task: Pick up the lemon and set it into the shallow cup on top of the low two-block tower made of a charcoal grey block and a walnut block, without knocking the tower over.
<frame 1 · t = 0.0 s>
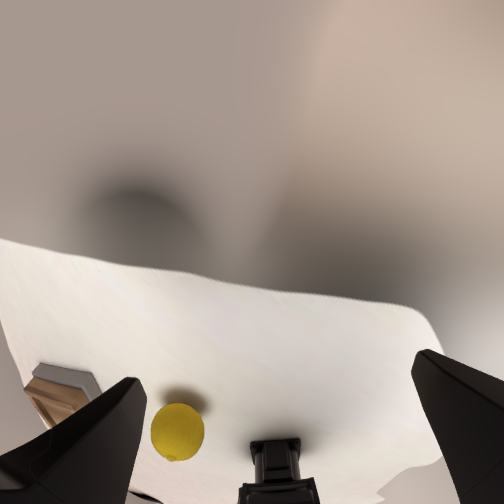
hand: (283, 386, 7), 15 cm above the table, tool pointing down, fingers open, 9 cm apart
lemon: (184, 403, 27), on the table
top block: (71, 407, 25), point 2 cm above the table, touching bottom block
bottom block: (80, 393, 28), on the table, touching top block
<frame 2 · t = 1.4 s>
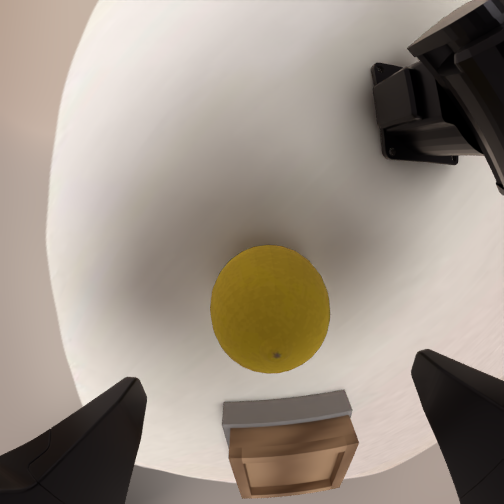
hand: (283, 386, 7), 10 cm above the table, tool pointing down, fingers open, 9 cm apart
lemon: (264, 274, 17), on the table
top block: (289, 452, 19), point 2 cm above the table, touching bottom block
bottom block: (284, 427, 21), on the table, touching top block
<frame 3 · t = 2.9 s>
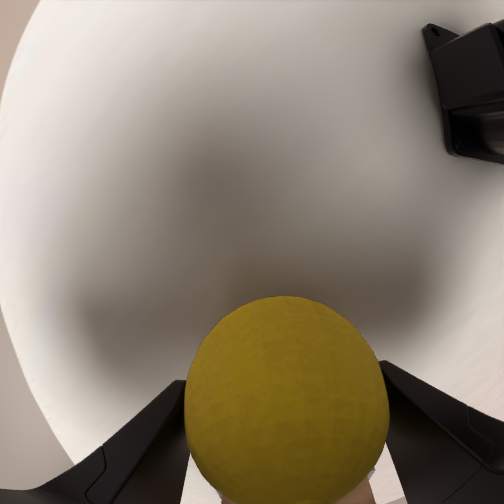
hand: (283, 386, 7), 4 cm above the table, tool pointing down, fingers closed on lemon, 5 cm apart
lemon: (273, 323, 11), on the table, touching gripper
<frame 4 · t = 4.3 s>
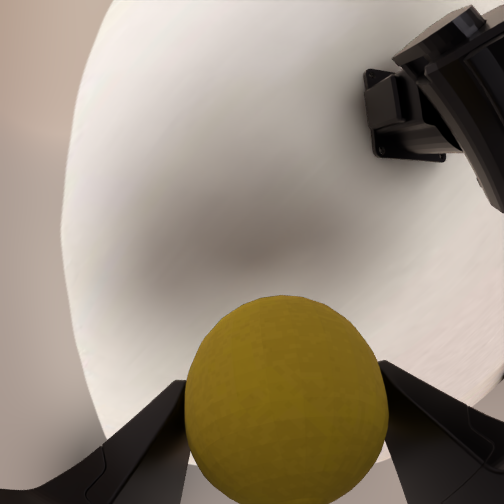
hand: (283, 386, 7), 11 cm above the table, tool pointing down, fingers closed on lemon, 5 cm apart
lemon: (273, 323, 11), point 8 cm above the table, touching gripper
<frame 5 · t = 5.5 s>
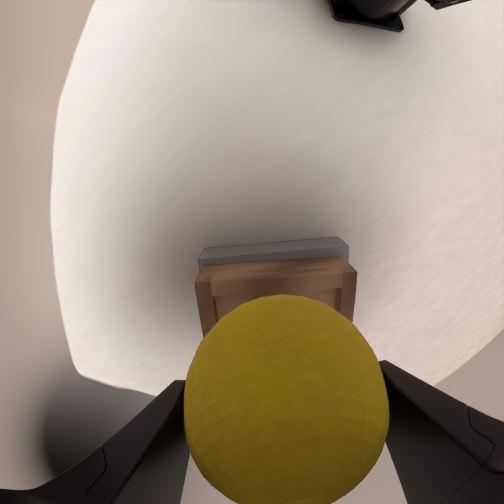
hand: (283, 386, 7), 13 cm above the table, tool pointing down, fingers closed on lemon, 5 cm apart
lemon: (273, 323, 11), point 10 cm above the table, touching gripper
top block: (275, 321, 19), point 2 cm above the table, touching bottom block
bottom block: (275, 300, 22), on the table, touching top block
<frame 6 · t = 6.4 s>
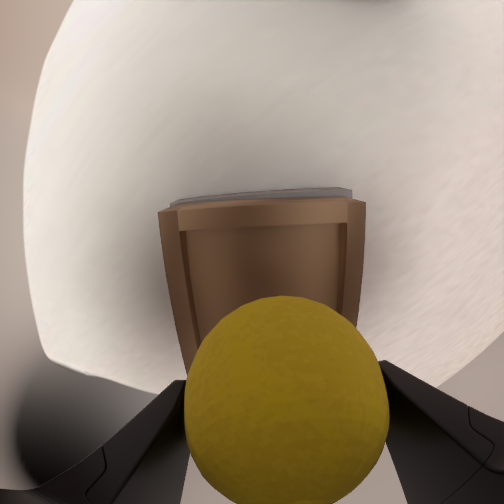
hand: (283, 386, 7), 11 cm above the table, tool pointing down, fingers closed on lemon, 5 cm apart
lemon: (273, 323, 11), point 7 cm above the table, touching gripper
top block: (264, 280, 15), point 2 cm above the table, touching bottom block
bottom block: (265, 265, 18), on the table, touching top block
when the fingers open (10 cm above the table, at t = 7.4 s): lemon drops 2 cm, resting on top block.
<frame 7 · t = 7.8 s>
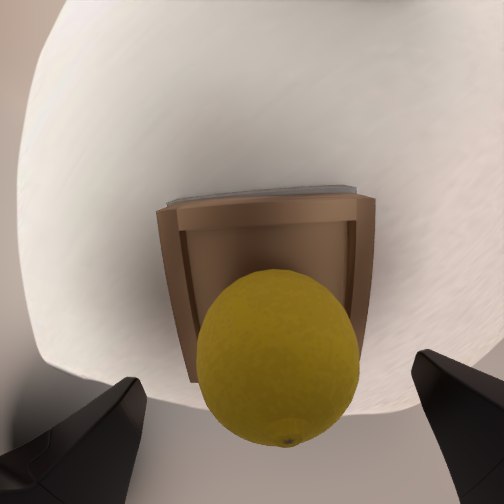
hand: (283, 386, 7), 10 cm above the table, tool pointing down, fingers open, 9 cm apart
lemon: (269, 299, 13), point 4 cm above the table, touching top block
top block: (269, 281, 15), point 2 cm above the table, touching bottom block, lemon
bottom block: (267, 266, 18), on the table, touching top block
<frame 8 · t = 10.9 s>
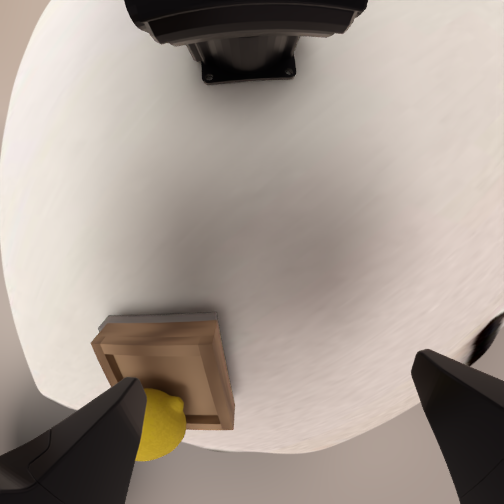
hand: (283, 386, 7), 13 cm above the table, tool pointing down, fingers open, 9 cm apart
lemon: (183, 398, 17), point 6 cm above the table, touching top block
top block: (172, 369, 20), point 2 cm above the table, touching bottom block, lemon
bottom block: (173, 356, 23), on the table, touching top block
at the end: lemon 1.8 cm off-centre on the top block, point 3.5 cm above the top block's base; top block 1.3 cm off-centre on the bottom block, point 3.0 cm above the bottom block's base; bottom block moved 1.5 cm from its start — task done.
